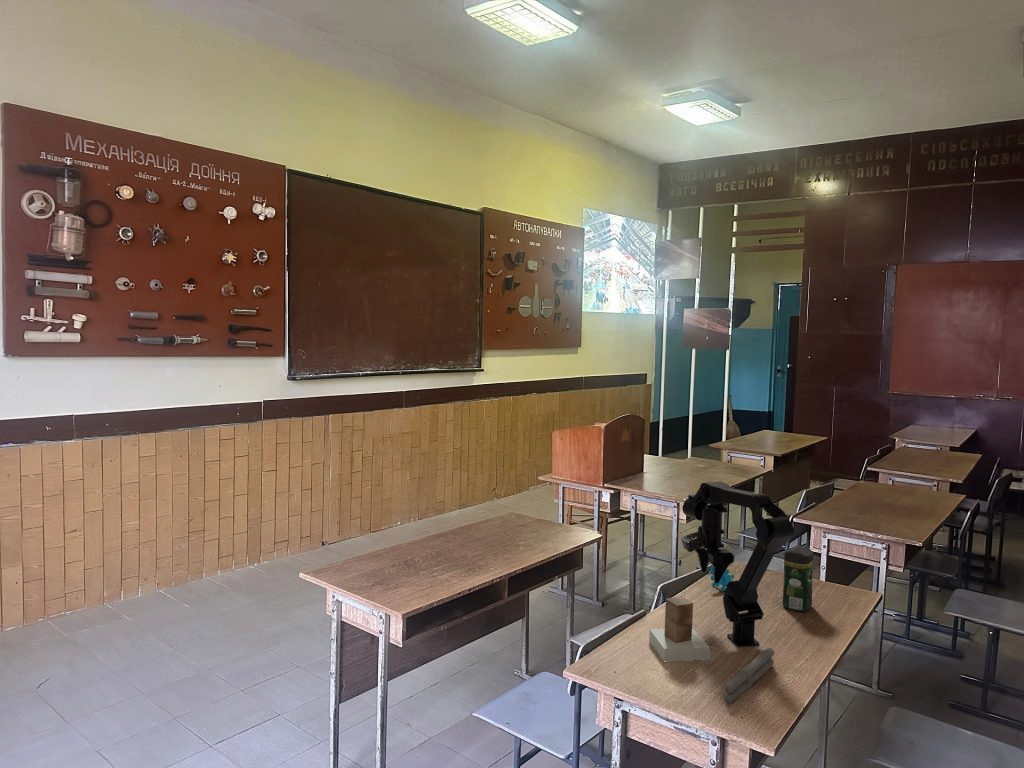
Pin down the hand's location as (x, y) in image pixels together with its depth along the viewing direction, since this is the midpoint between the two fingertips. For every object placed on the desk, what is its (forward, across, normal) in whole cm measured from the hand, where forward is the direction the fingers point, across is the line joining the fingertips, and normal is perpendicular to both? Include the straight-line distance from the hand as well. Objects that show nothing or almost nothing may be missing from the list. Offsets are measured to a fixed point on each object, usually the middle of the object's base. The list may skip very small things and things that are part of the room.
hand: (709, 577), depth 203 cm
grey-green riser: (+14, +18, -16) cm, 28 cm away
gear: (+13, -25, +16) cm, 32 cm away
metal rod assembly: (+14, +37, -5) cm, 39 cm away
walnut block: (+10, +18, -16) cm, 26 cm away
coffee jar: (+13, -8, +32) cm, 36 cm away
